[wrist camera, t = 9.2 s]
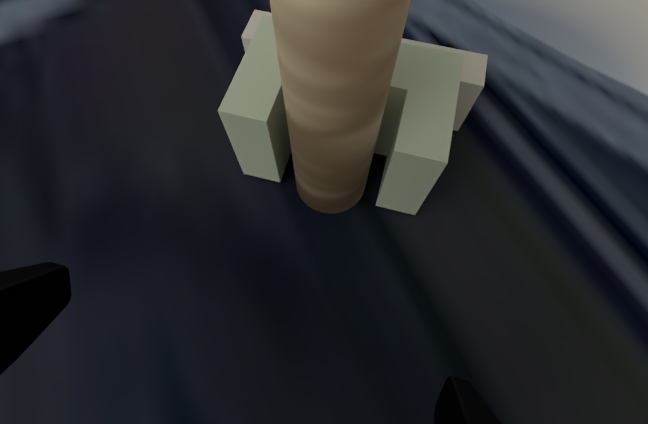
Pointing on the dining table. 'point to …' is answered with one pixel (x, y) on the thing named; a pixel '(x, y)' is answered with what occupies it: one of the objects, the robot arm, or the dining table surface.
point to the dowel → (335, 90)
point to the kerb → (472, 61)
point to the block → (395, 130)
